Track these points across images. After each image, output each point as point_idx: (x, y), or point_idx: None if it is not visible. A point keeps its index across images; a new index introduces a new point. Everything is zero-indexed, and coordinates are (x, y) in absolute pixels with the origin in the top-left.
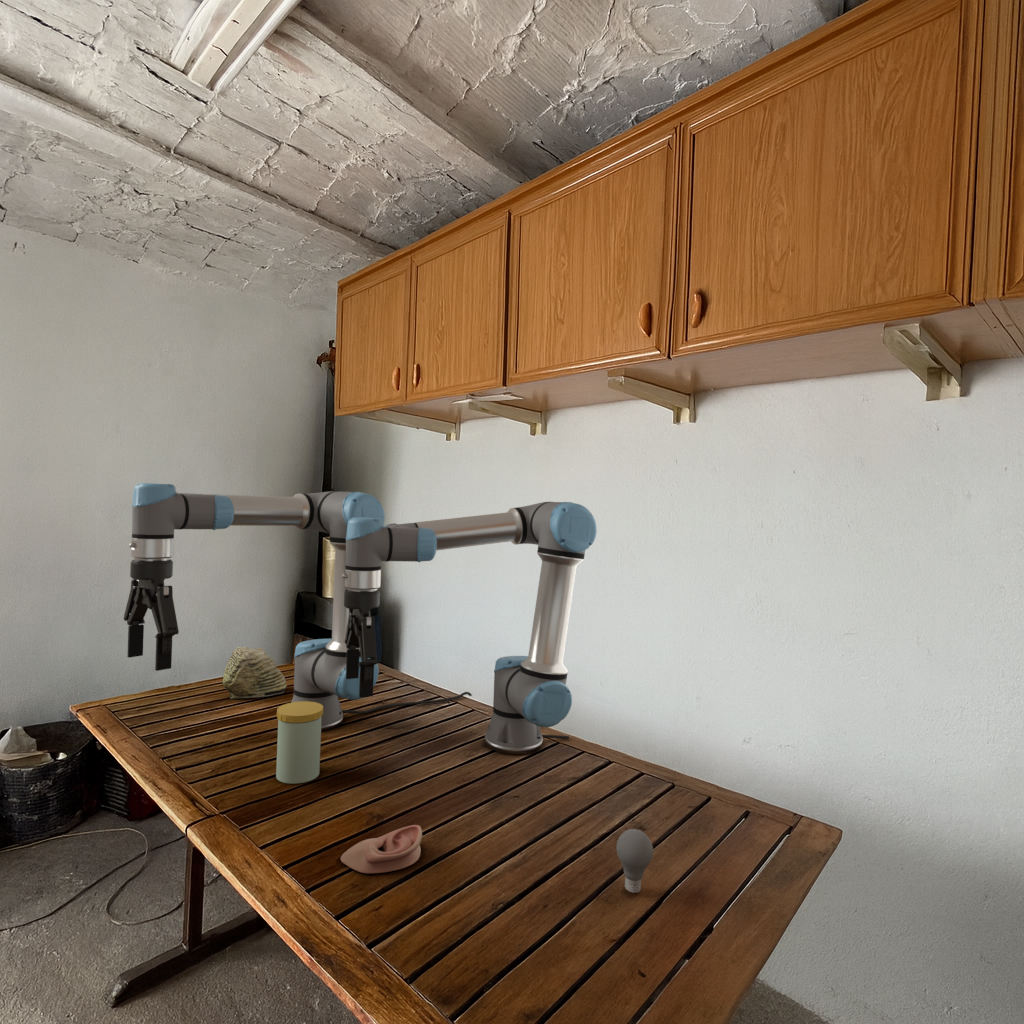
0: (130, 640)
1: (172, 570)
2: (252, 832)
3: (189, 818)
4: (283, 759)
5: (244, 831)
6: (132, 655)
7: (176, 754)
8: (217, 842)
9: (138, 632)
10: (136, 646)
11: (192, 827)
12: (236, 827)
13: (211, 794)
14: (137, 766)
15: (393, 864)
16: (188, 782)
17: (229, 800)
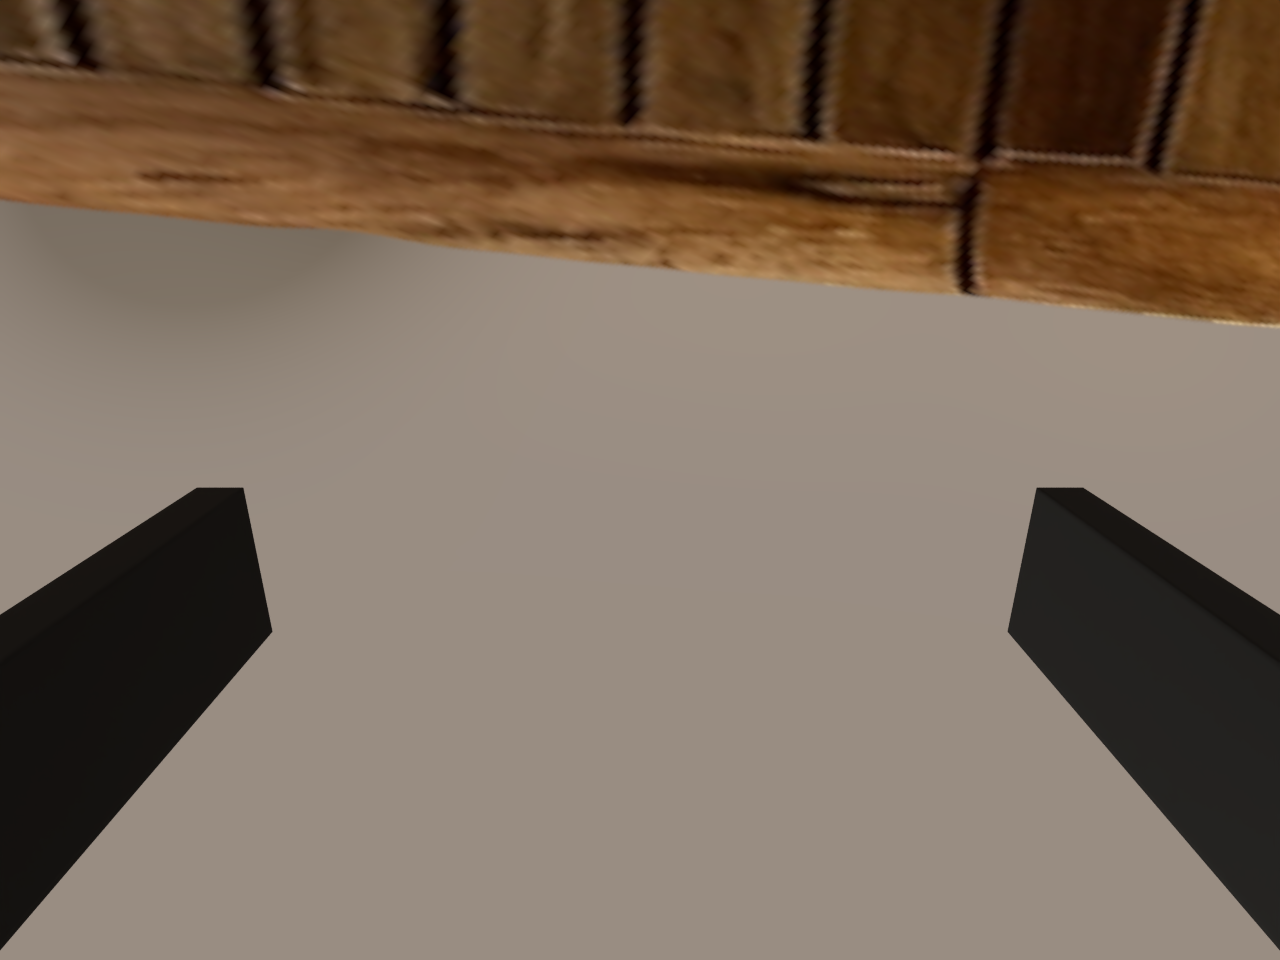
0: (140, 768)
1: None
2: (1211, 147)
3: (920, 266)
4: None
5: (1178, 165)
6: (257, 608)
7: (251, 6)
8: (1154, 275)
9: (19, 757)
10: (182, 626)
11: (989, 288)
12: (1128, 172)
13: (803, 102)
14: (298, 212)
15: None
16: (617, 119)
17: (914, 72)
